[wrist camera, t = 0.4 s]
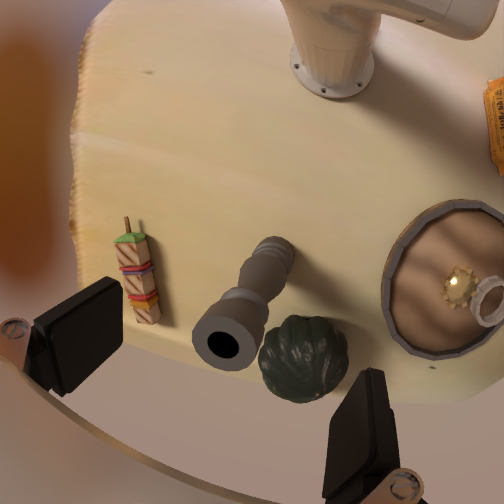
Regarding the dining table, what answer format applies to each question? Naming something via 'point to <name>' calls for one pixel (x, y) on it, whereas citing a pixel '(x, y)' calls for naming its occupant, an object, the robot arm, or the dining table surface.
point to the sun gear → (459, 287)
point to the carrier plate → (440, 265)
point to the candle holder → (244, 308)
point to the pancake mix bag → (495, 120)
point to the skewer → (138, 275)
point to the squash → (303, 359)
